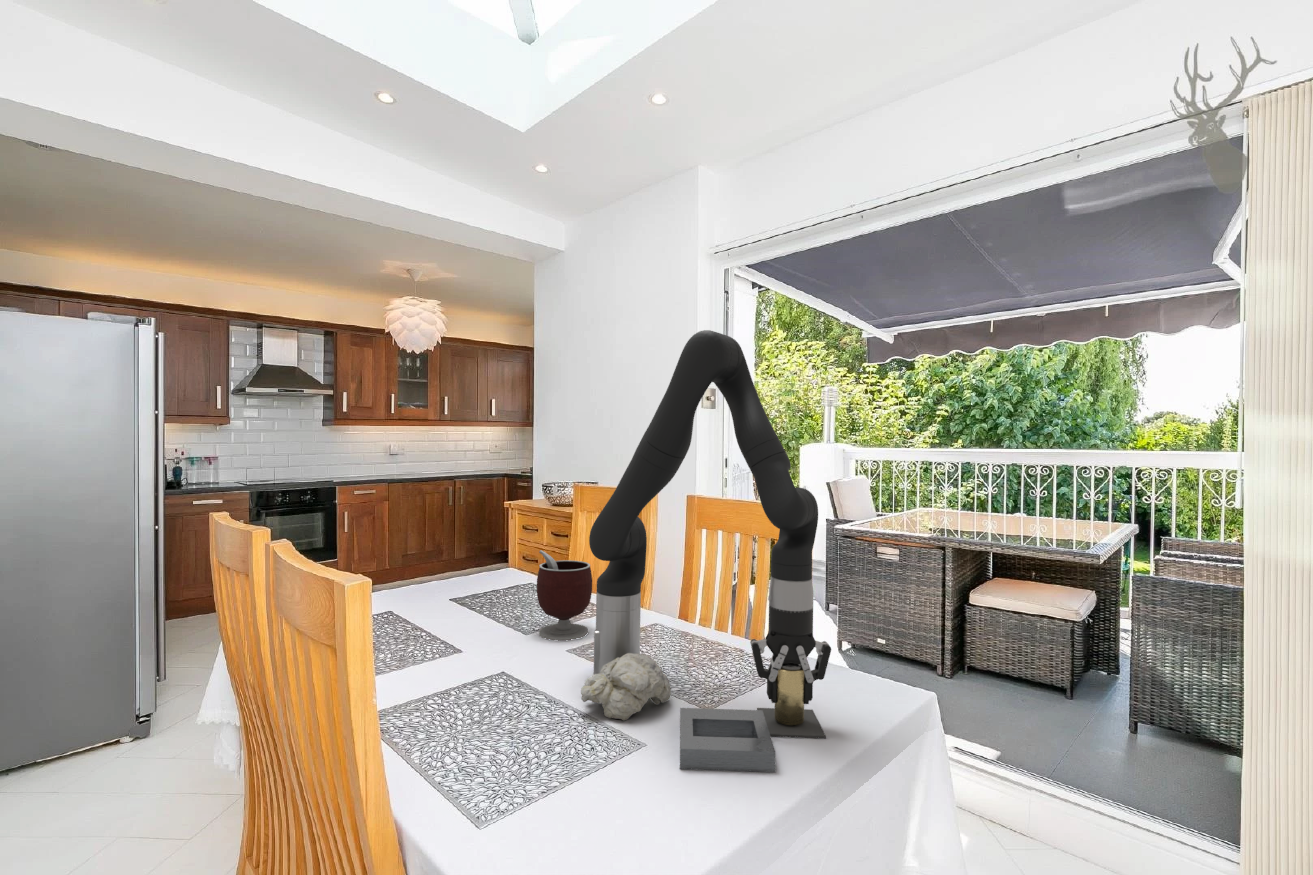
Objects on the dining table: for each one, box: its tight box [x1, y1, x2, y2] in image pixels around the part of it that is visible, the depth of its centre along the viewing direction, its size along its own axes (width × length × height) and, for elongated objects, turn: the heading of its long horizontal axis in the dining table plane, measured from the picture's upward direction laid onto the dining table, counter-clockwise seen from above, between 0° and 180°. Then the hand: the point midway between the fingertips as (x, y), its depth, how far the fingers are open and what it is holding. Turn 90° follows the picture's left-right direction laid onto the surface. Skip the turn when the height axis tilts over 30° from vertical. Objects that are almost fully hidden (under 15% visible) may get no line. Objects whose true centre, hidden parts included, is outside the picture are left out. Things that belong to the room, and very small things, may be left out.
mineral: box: [580, 653, 672, 722], centre depth 110 cm, size 12×17×10 cm
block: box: [679, 707, 776, 773], centre depth 97 cm, size 14×14×3 cm
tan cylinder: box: [774, 663, 805, 725], centre depth 105 cm, size 5×5×10 cm
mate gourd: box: [536, 550, 593, 642], centre depth 154 cm, size 16×14×20 cm
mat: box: [756, 707, 827, 739], centre depth 105 cm, size 10×10×1 cm
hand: (789, 701), depth 105 cm, fingers closed on tan cylinder, 5 cm apart
